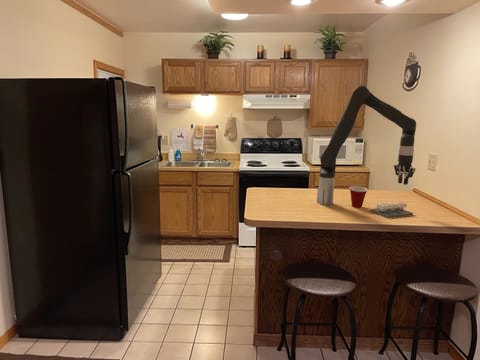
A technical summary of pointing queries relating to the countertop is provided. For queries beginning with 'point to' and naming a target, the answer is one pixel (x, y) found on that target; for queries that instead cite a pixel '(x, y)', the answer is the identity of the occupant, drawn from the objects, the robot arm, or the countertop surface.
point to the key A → (382, 207)
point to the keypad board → (392, 212)
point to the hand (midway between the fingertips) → (402, 183)
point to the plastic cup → (357, 195)
